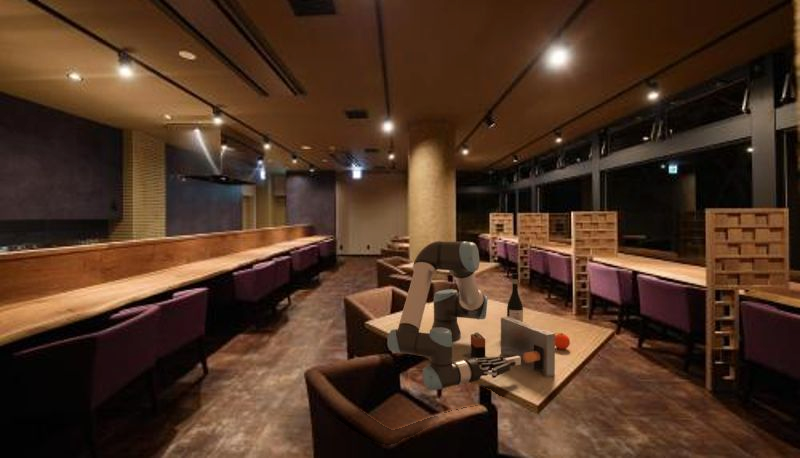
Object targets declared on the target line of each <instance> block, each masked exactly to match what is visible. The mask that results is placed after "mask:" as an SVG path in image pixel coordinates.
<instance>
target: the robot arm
mask: <svg viewBox="0 0 800 458" xmlns="http://www.w3.org/2000/svg"><path fill="white" fill-rule="evenodd" d="M479 254H480V252H479V249H478V246H477V244H476V243H474V242H473V241H472V242H471V241H442V240H440V241H439V240H438V241H433V242H431V243H429V244H427V245H426V246H424V248H422V249H421V251H419V253H418V254H417V256H416V258H414V261H413V265H412V271H413V274H412V278H411V281H410V285H409V288H408V292H407V296H406V300H405V302H404V305H403V306H404V307H403V309H402V312H401V316H400V320H399V324H398V327H397V329H396V328H395V329H391V330H390V331H389V333H388V335H387V348H388V349H389V351H390V352H392V353H398V354H401V355H402V354H408V355H414V356H421V357H427V358H429V365H427V366H424V367H423V369H422V372H421V378H422V383H423V385H424V387H425V388H426V389H427V390H429V391H437V390H442V389H446V388H450V387H454V386H460V385H463V384H468V383H473V382H478V381H479V380H480V379H481V377H483V376H486V377H487V376H488V375H489V376H490V375H491V377H492V378H493V379H496V378H497V377H498V376H501V375H503V374H505V373H507V372H510V371H511V367H516V366H519V365H521V357H520V356H514V357H509V358H508V357H506V358H505V357H504V355H501V356H500V358H499V356H489V357H488V356H486V358H470V359H468V358H466V359H464V358H463V359H460V360H455V361H453V346H454V345H453V344H454V343H453V342H455V341H458V340H460V339H461V337H462V334H461V330H460V327H459V323H458V318H462V319H463V318H464V319H471V320H472V319H473V320H477V321H479V320H486V318H487V308H488V295H485V294H483V293H482V291H481V290H479V286H478V283H477V278H476V274H475V272H476V271H478V270H479V267H480V255H479ZM438 270H441V271H449V274H450V275H451V276H452V277H454V279H455V283H456V285H457V289H458V290H457V289H450V288H449V289H443V290H439V291H436V292H435V293H434V294H433V301H432V302H433V322H432V326H431V329H429V333H427V332H422V331H421V332H420V330H421V324H422V321H423V317H424V316H423V315H424V312H425V308H426V304H427V300H428V296H429V291H430V287H431V284H432V279H433V277H434V276H435V275H436V274H437V271H438Z"/></svg>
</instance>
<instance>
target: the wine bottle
mask: <svg viewBox="0 0 800 458" xmlns="http://www.w3.org/2000/svg"><path fill="white" fill-rule="evenodd" d="M511 274H512V275H511V277H512V290H511V295H510V298H509V300H508V303H507V308H506V317H511V318H513V319H516V320H519V321H522V322H524V306H523V302H522V299H521V297H520V295H519V286H518V285H519V282H518V281H519V280H518V279H519V274H518V273H516V272H515V273H513V272H512V273H511Z"/></svg>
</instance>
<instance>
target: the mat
mask: <svg viewBox="0 0 800 458" xmlns="http://www.w3.org/2000/svg"><path fill="white" fill-rule="evenodd" d="M462 356H463V357H465V358H466V359H470V358H473V357H472V355H471V352H470V353H464V354H462ZM486 357H487V356H486V355H485V358H486Z"/></svg>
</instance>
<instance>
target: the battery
mask: <svg viewBox="0 0 800 458" xmlns="http://www.w3.org/2000/svg"><path fill="white" fill-rule="evenodd" d="M470 353H471V355H472V357H473V358H485V356H486V338H485V337H484V336H483V335H482V334H481V333H479V332H477V331H476V332H474V333H472V334H470Z"/></svg>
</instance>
